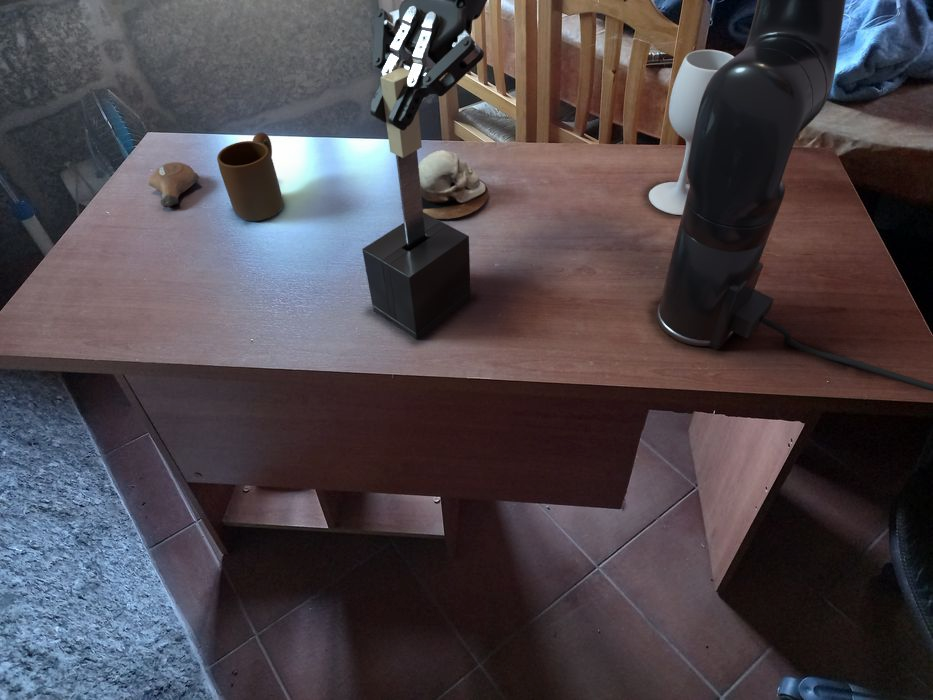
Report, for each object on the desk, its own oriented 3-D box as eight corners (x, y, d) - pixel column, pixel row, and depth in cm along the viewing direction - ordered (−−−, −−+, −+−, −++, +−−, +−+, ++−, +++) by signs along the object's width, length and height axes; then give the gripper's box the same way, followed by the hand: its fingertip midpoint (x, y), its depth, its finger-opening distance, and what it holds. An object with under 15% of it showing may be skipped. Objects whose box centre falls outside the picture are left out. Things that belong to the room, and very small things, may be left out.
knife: (430, 239, 78) (415, 72, 63) (413, 250, 76) (394, 82, 62) (418, 233, 79) (401, 66, 64) (402, 244, 77) (380, 76, 63)
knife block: (471, 298, 85) (469, 235, 78) (416, 339, 80) (409, 277, 73) (427, 272, 89) (421, 211, 82) (373, 310, 84) (361, 248, 77)
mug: (255, 178, 107) (239, 124, 100) (300, 181, 106) (287, 126, 99) (226, 221, 99) (206, 165, 92) (274, 224, 98) (257, 168, 91)
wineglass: (690, 179, 103) (724, 42, 88) (718, 210, 97) (760, 68, 82) (639, 189, 101) (664, 51, 86) (664, 220, 96) (697, 78, 80)
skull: (485, 165, 105) (489, 144, 95) (487, 229, 105) (491, 214, 95) (411, 166, 105) (407, 145, 95) (412, 230, 105) (408, 216, 95)
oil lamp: (139, 204, 104) (175, 217, 101) (127, 184, 101) (163, 197, 98) (179, 170, 109) (214, 183, 106) (168, 150, 105) (204, 162, 103)
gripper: (392, -85, 62) (317, 87, 65) (503, -61, 56) (413, 129, 58) (434, -37, 69) (364, 117, 72) (538, -11, 62) (457, 158, 65)
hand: (387, 122), depth 65 cm, fingers closed on knife, 2 cm apart
